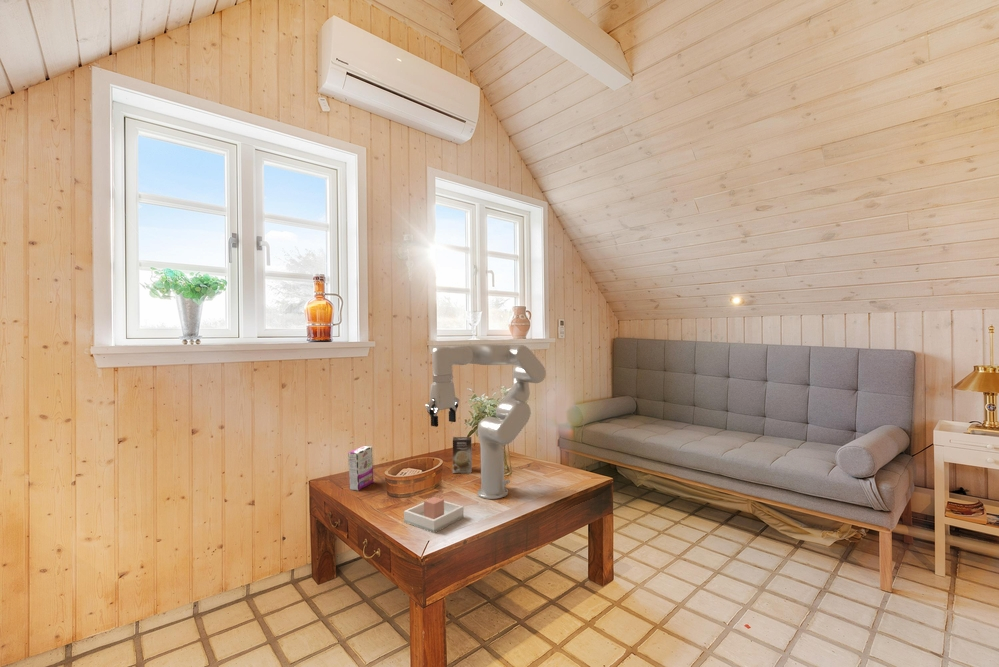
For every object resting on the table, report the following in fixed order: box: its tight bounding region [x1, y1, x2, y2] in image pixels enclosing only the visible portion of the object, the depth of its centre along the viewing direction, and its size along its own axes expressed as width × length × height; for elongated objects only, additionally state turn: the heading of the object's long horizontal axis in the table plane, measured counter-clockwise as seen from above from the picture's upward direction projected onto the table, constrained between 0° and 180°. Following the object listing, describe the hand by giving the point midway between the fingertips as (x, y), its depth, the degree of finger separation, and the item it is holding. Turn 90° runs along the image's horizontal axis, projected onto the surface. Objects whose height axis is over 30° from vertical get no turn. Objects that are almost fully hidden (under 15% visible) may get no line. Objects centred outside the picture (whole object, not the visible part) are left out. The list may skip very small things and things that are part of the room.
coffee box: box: [452, 436, 473, 474], centre depth 215 cm, size 9×6×16 cm
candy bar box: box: [348, 445, 374, 491], centre depth 198 cm, size 11×5×16 cm, turn 161°
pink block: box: [423, 496, 445, 519], centre depth 161 cm, size 5×5×6 cm
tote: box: [403, 500, 465, 534], centre depth 161 cm, size 15×15×4 cm
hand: (443, 423), depth 171 cm, fingers open, 9 cm apart
